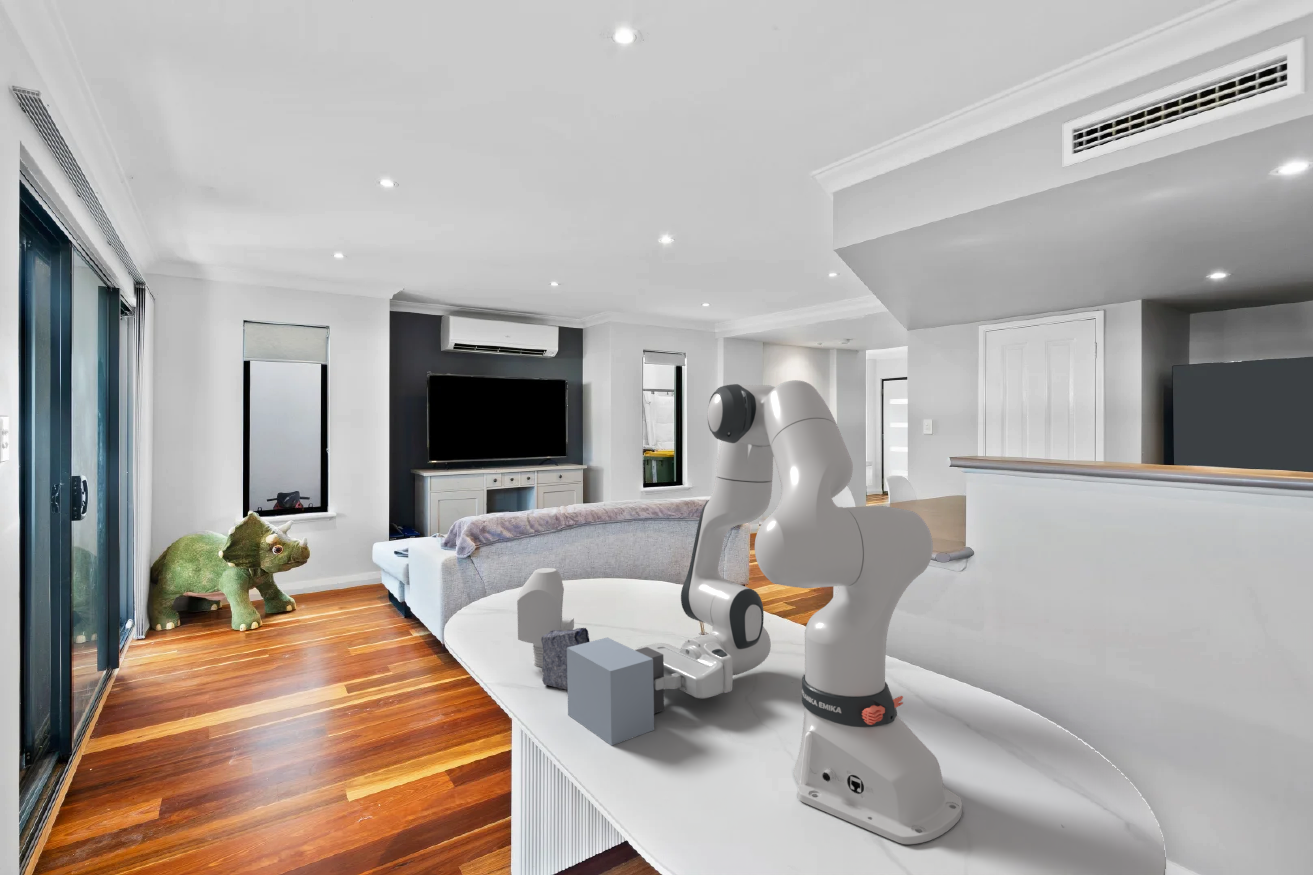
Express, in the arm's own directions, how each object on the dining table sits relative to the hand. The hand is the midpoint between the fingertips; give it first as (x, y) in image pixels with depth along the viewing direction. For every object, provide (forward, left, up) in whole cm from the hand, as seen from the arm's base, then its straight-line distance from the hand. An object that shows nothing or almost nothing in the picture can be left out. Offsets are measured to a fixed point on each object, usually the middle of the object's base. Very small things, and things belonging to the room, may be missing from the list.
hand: (642, 678), depth 116 cm
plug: (0, +1, -6) cm, 6 cm away
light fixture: (+32, +2, -6) cm, 33 cm away
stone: (+20, +4, -6) cm, 21 cm away
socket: (0, +7, -6) cm, 9 cm away
